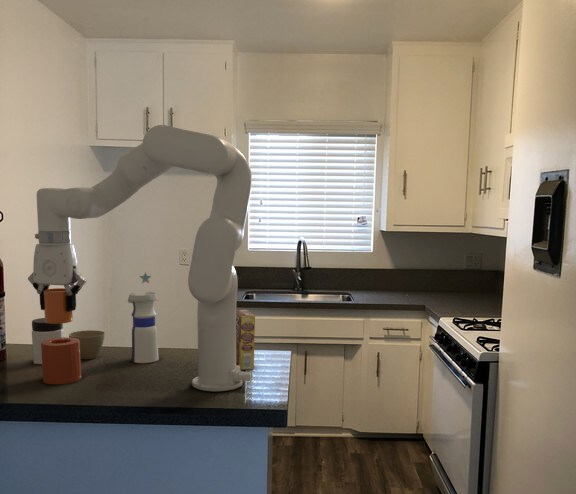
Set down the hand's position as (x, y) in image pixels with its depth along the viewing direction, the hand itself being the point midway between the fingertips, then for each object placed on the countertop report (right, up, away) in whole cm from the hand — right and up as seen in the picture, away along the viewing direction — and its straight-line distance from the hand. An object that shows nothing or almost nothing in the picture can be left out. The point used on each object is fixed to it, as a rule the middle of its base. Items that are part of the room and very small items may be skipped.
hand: (58, 309), depth 158 cm
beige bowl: (-1, -14, +26) cm, 29 cm away
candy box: (+46, -16, +17) cm, 52 cm away
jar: (-10, -15, +21) cm, 28 cm away
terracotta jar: (0, -18, +3) cm, 18 cm away
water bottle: (+16, -15, +23) cm, 32 cm away
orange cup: (0, -3, +1) cm, 3 cm away
